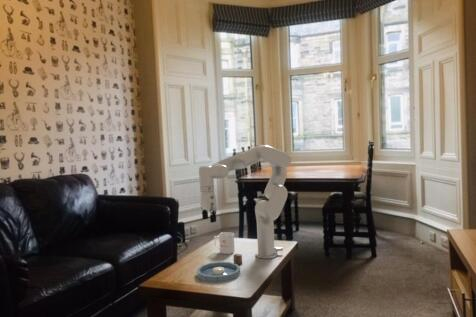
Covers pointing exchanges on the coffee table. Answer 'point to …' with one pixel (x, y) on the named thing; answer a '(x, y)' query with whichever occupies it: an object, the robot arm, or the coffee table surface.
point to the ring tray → (218, 272)
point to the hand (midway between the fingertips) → (209, 220)
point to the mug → (226, 242)
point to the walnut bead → (237, 259)
